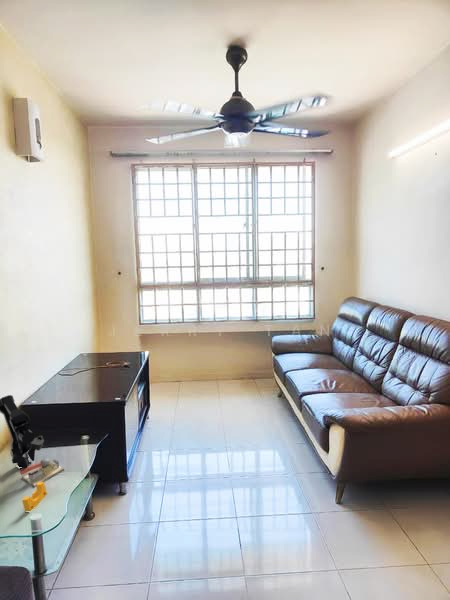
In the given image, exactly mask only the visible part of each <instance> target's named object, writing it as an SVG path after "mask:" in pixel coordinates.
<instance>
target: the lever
mask: <svg viewBox="0 0 450 600" xmlns="http://www.w3.org/2000/svg"><path fill="white" fill-rule="evenodd" d="M49 464H50V458H49V457H46V458H43V459H42V460H40V461H39V462H37V463H34V464H32V465H30V466H28V467H27V468H22V469H20V470H19V473H20V476H22V475H24V474H26V473H28V472H30V471H31V470H33V469H36V468H38V467H40V466H42V467H44V466H47V465H49Z"/></svg>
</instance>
